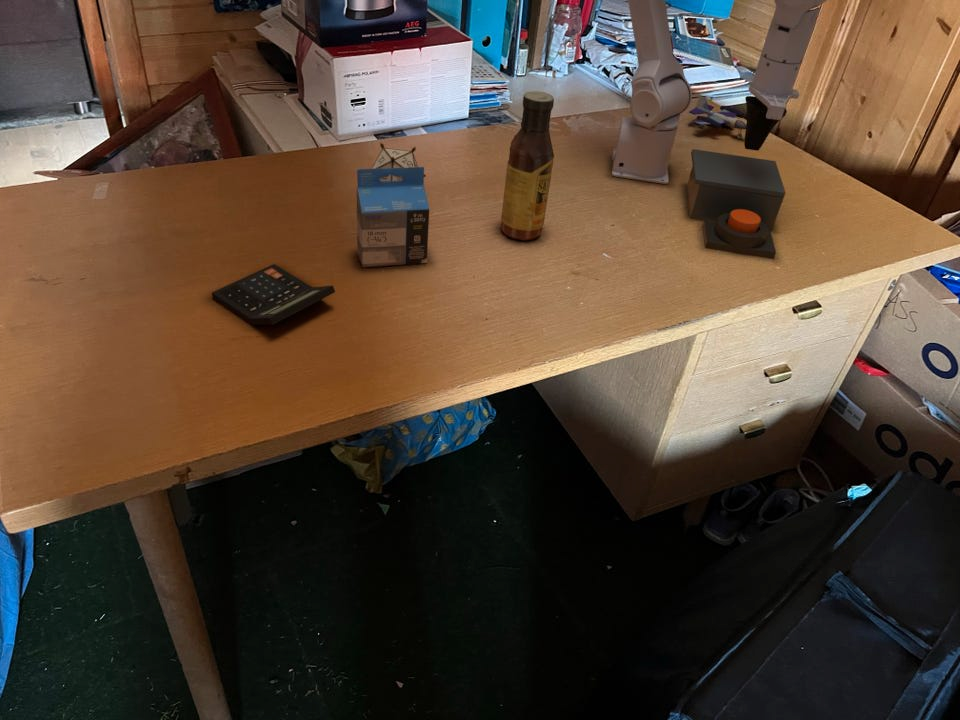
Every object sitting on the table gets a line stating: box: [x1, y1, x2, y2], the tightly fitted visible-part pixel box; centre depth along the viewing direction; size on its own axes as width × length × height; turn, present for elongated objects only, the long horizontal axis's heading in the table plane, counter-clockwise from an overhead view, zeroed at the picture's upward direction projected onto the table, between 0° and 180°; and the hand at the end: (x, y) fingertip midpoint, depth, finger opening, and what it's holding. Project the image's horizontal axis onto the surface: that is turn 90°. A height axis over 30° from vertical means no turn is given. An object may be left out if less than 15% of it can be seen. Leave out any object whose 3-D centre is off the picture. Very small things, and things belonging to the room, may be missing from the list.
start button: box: [727, 209, 761, 234], centre depth 111 cm, size 4×4×2 cm
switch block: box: [701, 213, 777, 260], centre depth 112 cm, size 10×7×3 cm
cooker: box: [686, 165, 785, 232], centre depth 120 cm, size 13×12×6 cm
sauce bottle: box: [500, 90, 555, 241], centre depth 104 cm, size 6×6×20 cm
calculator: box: [211, 263, 336, 326], centre depth 91 cm, size 9×12×3 cm
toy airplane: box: [688, 95, 747, 140], centre depth 146 cm, size 13×14×4 cm
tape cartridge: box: [356, 166, 430, 268], centre depth 98 cm, size 9×4×12 cm, turn 105°
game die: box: [370, 142, 427, 181], centre depth 113 cm, size 9×8×10 cm
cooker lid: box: [690, 148, 787, 198], centre depth 118 cm, size 13×12×1 cm
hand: (751, 148), depth 115 cm, fingers closed
